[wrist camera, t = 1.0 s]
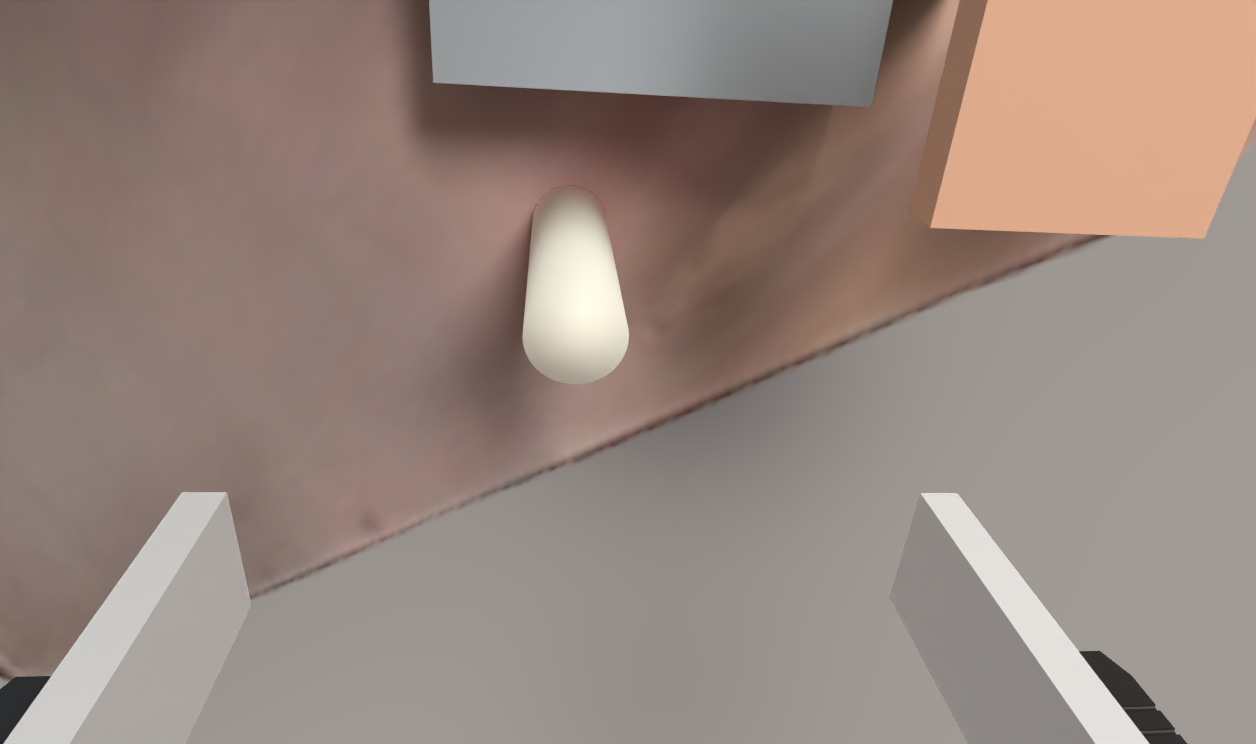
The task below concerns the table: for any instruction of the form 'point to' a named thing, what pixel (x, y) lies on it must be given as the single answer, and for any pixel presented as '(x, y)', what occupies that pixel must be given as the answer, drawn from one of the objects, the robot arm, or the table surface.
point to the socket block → (666, 47)
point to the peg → (573, 290)
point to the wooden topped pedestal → (1089, 116)
